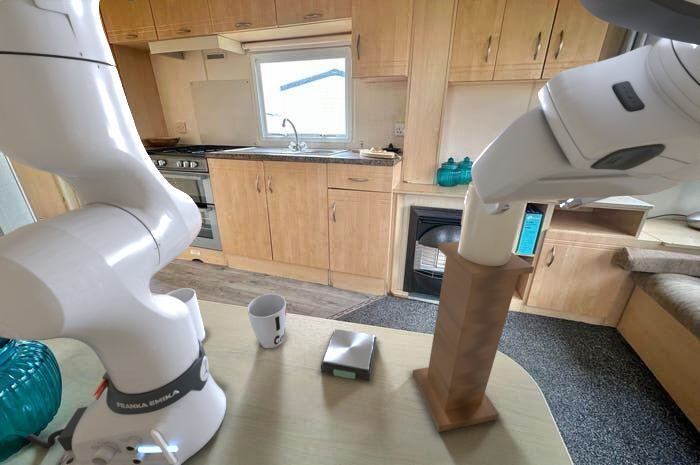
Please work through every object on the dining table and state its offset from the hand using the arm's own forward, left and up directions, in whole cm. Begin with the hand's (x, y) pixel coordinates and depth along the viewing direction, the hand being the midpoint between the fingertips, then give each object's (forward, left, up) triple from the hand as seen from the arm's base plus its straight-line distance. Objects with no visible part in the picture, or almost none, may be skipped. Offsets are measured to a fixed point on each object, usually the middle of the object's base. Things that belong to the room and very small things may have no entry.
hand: (528, 206), depth 31 cm
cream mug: (0, +7, -9) cm, 11 cm away
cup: (-34, +26, -39) cm, 58 cm away
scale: (-17, +18, -39) cm, 46 cm away
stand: (0, +6, -39) cm, 39 cm away
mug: (-53, +28, -39) cm, 72 cm away
